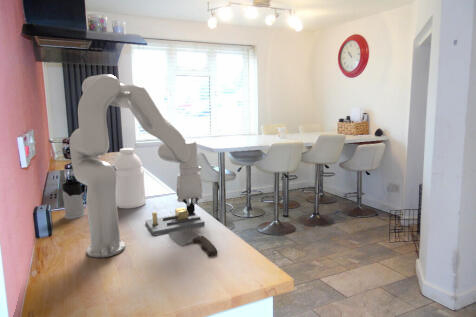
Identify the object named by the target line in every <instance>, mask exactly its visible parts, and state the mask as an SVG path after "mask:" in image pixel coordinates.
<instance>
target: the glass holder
mask: <svg viewBox="0 0 476 317" xmlns="http://www.w3.org/2000/svg"><path fill="white" fill-rule="evenodd" d="M61 185H62V191H61V192H62V199H63V208H64V219H67V220H71V219H72V220H73V219H74V220H76V219H79V218H82V217H84V216H86V213H85V208H87V203H86V204H84V197H83V195H84V194H86V193H87V185H84V192H82V183H80V182H79V181H69V182H65V183H62V184H61Z"/></svg>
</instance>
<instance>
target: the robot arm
mask: <svg viewBox="0 0 476 317" xmlns="http://www.w3.org/2000/svg"><path fill="white" fill-rule="evenodd" d="M81 91H82V95H81V97H80V99H79V101H78V106H77V117H78V118H77V119H78V121H77V122H78V128H77V129H74V131H73V132H72V133H71V135H70V138H69V151H70V152H69V153H70V159H71V167H72V172H73V175H74V178H75V180H76V181H77V182H80V183H81V185H84V186H86V185H87V186H86V196H85V197H86V199H85V200H86V204H87V205H86V211H87V218H88V220H87V221H88V229H89V238H90V245H89V246H88V247H87V249H86V254H87V256H89V257H91V258H99V259H100V258H107V257H112V256H116V255H118V254H120V253H122V252H123V251H124V250H125V249H126V243H125V241H123V240H121V237H120V234H121V233H120V225H119V214H118V213H119V211H118V206H117V201H116V184H117V174H116V168H114V165H112V164H111V163H109V162H107V161H104V160H101V159H100V157H103V156H104V155H107V153H108V152H109V149H110V140H109V139H110V138H109V132H108V131H109V130H108V122H107V111H108V107H109V106H113V107H117V108H122V109H129V110H130V112H131V113H132V114H133V116H134V117H135V119H136V121H137V122H138V124H139V125H140V126H141V128H142V130H144V131H145V132H146V133H148V134H150V135H151V136H153V137H155V138H157V139H158V140H160V141H161V143H162V144H161V145H159V147H158V150H157V154H158V156H159V158H160V159H161V160H163V161H165V162H168V163H169V162H170V163H176V164H178V169H179V170H178V171H179V173H178V174H177V178H176V196H177V200H176V201H177V202H178V203H184V204H185V205H186V206H185V207H186V209H187V210H188V213H189V214H190V215H191V214H194V212H196V211H195V210H196V207H195V205H196V203H197V202H198V201H199V200H201V199H203V198H204V197H203V185H202V184H203V183H202V178H201V174H200V172H199V171H201V170H202V167H201V166H198V165H199V164H198V148H197V147H198V146H197V142H196V141H194V140H185V138H184V136H183V135H182V133H180V131H179V130H178V129H177V128H176V127H174V125H172V124H171V122H169V121H168V120H167V119H166V118H164V117H163V115H162V113H161V112H160V110H159V109H158V106H157V105H156V103H155V102H154V101H153V99H152V97H151V96H150V94H149V92H148V91H147V90H146V88H145V87H144V86H143V85H141V84H137V83H129V84H128V83H127V84H123V83H121V82H120V80H119V79H118V78H117V77H116V76H114V75H113V74H107V73H105V74H104V73H103V74H97V75H92V76H88V77H86V78H85V79H84V80H83V82H82V85H81Z"/></svg>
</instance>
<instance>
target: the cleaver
mask: <svg viewBox="0 0 476 317" xmlns="http://www.w3.org/2000/svg"><path fill="white" fill-rule="evenodd" d="M167 234H168V236H169V238H170V240H172V241H173V243H175V244H177V245H178V246H180V247H186V246H190V245H192V244H199V245H200V246H201V249H202V250H203V251H205V252H206V253H207V255H208V257H213V256H216V255H218V249H217V248H216V246H215V245H214V244H213V243H212V242H211V241H210V240H209V239H208V238H207V237H206V236H204V235H201V234H199V233H198V232H196V231H195V230H193V229H192V228H188V227H186V228H182V229H178V230H174V231H170V232H167Z"/></svg>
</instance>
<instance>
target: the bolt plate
mask: <svg viewBox="0 0 476 317" xmlns="http://www.w3.org/2000/svg"><path fill="white" fill-rule="evenodd" d="M151 214H152V217H151V219H146V220H145V225H146V226H147V228H148V230H149V231H150V233H151V234H152V235H153V236H158V235H161V234H168V232H170V231H174V230H178V229H182V228H186V227H188V228H190V229H193V228H197V227H203V226H205V225H206V224H205V223H206V222H205V220H203V219H202V218H201V216H198V215H197V214H196V211H194V214H191V215H190V214H189V213H188V219H184V220H179V221H178V220H177V219H176V217H175V214H174V215H168V216H163V217H158V212H157V211H153V212H152V213H151Z"/></svg>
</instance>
